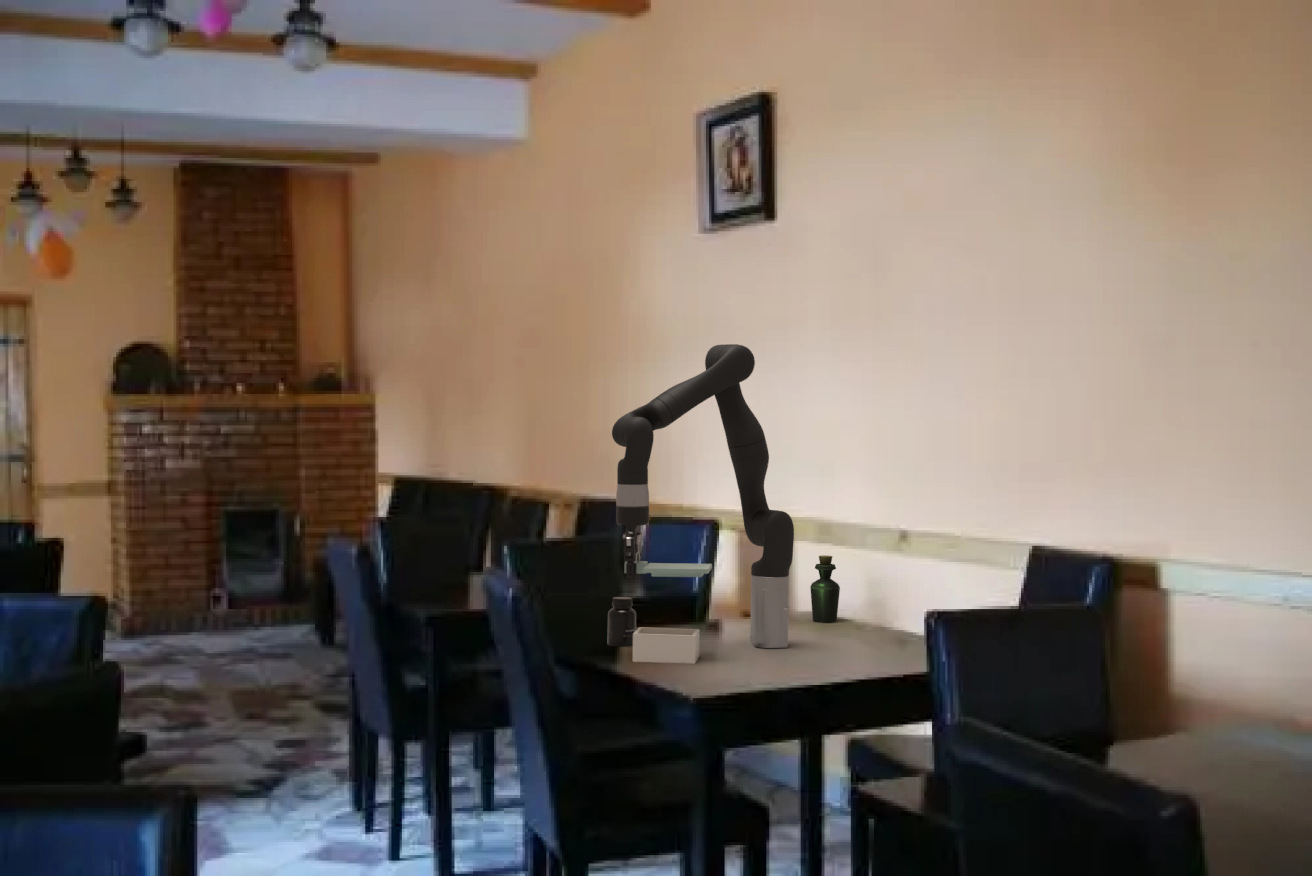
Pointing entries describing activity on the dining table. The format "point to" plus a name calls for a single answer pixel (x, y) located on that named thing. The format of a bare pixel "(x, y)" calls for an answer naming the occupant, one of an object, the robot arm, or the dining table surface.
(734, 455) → the robot arm
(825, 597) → the potion bottle
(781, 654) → the dining table surface
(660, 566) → the lid
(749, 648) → the dining table surface
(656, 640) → the tub
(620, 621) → the supplement bottle
